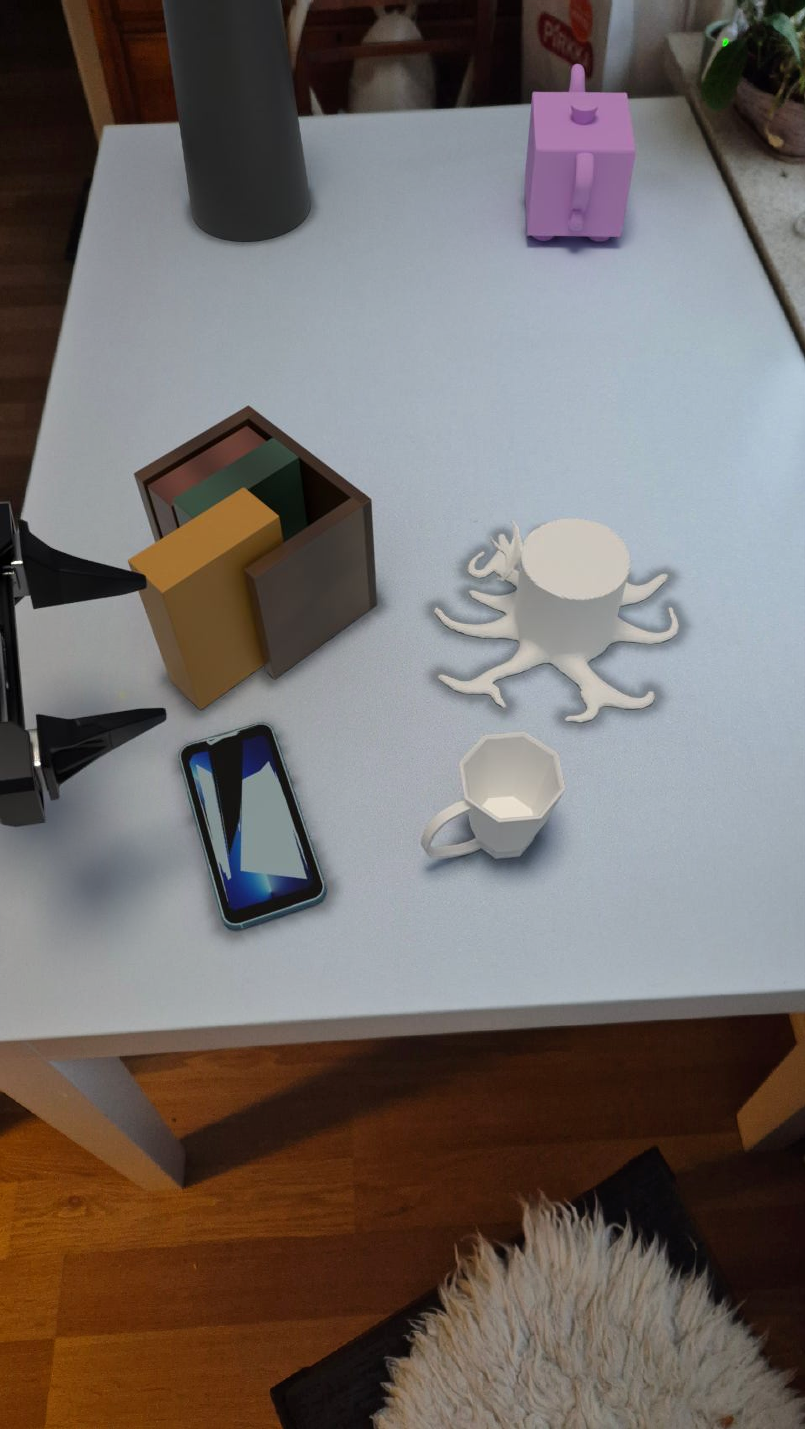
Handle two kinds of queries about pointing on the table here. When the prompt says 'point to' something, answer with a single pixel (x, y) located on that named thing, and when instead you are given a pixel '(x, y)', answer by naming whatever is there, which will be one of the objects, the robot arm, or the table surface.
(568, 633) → the tree stump
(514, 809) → the cup
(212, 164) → the vase
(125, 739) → the robot arm
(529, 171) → the teapot
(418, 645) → the table surface
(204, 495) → the bookshelf
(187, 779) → the smartphone
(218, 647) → the ochre book
